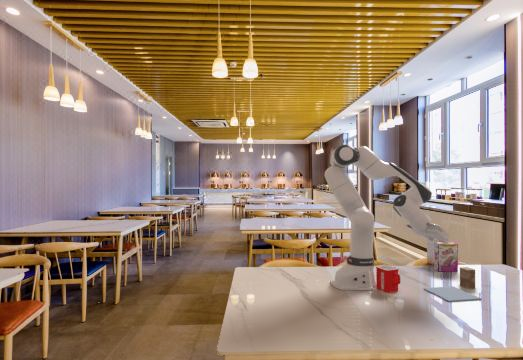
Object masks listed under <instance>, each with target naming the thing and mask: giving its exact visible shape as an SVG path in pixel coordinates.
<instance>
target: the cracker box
mask: <svg viewBox="0 0 523 360" xmlns="http://www.w3.org/2000/svg"><path fill="white" fill-rule="evenodd" d="M426 240H427V242H426V244H427V245H426V252H427V253H426V256H427V257H426V262H427V264H430V265H432V266H434V260H435V242H442V240H440V239H435V238H434V240H433V241H430V240H429V239H427V238H426ZM447 241H448V242H449V238H448V239H447Z"/></svg>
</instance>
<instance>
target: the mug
mask: <svg viewBox="0 0 523 360" xmlns="http://www.w3.org/2000/svg"><path fill="white" fill-rule="evenodd" d="M375 269H376V271H375V272H376V275H375V276H376V279H375V282H376V285H377V286H376V289H377V290H379V291H381V292H384V293H387V294H389V293H396V292H399V284H401V275H400V274H399V270H400V269H399V268H398V267H396V266H393V265H390V264H382V265H379V264H378V265H376V266H375Z"/></svg>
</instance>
